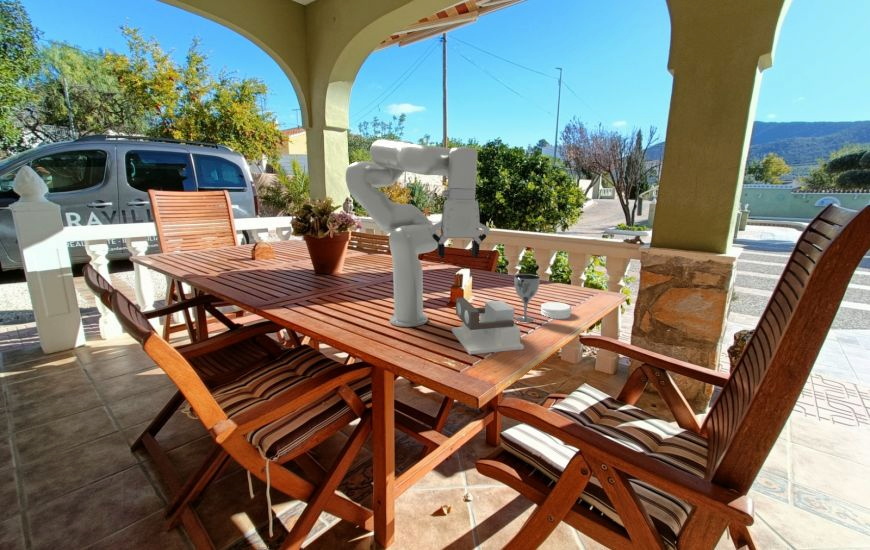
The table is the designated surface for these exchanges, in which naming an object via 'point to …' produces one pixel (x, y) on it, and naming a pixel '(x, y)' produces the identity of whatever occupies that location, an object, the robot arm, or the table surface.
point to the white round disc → (556, 310)
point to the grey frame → (476, 316)
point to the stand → (491, 331)
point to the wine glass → (526, 291)
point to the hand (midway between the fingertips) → (458, 257)
